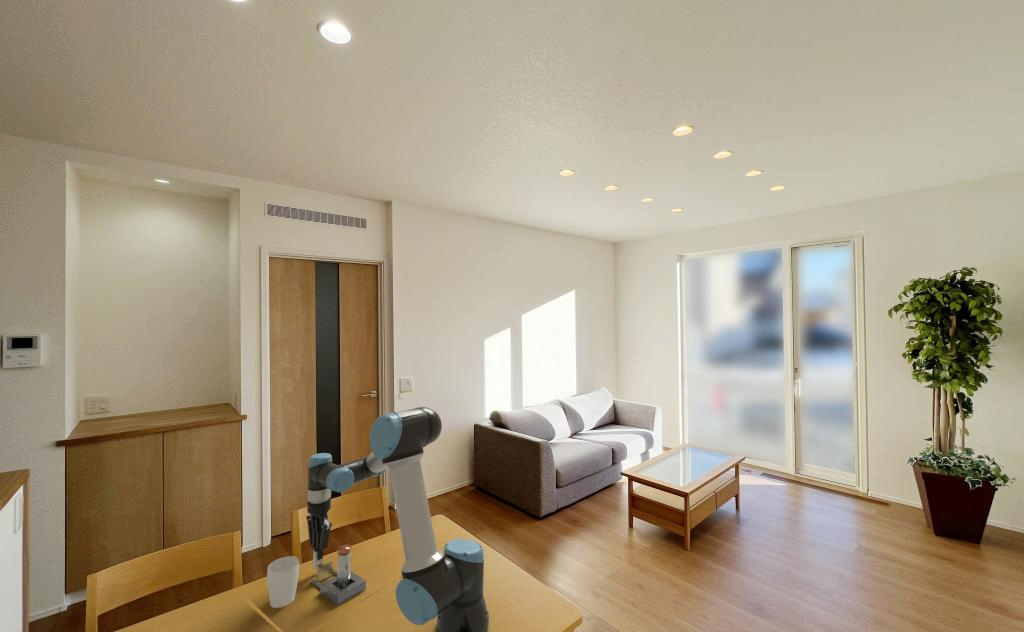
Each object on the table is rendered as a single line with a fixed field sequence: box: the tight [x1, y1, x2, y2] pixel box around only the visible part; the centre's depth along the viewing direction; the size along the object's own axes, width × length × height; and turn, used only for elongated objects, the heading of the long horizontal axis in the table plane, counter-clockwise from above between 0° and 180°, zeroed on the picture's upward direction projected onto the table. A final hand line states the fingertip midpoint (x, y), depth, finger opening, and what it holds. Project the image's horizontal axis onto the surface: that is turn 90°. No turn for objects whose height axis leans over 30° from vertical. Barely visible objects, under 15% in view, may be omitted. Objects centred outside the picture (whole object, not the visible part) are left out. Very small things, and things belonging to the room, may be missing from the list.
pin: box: [336, 544, 352, 590], centre depth 133 cm, size 4×4×14 cm
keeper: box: [315, 559, 334, 583], centre depth 140 cm, size 2×5×5 cm, turn 144°
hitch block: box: [310, 568, 367, 606], centre depth 136 cm, size 18×14×3 cm
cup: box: [266, 555, 301, 609], centre depth 128 cm, size 9×9×12 cm
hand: (317, 567), depth 142 cm, fingers closed
